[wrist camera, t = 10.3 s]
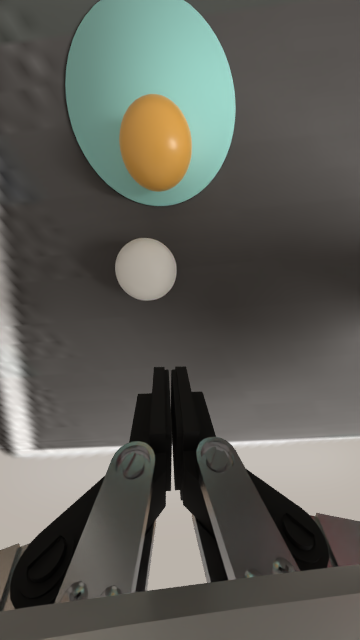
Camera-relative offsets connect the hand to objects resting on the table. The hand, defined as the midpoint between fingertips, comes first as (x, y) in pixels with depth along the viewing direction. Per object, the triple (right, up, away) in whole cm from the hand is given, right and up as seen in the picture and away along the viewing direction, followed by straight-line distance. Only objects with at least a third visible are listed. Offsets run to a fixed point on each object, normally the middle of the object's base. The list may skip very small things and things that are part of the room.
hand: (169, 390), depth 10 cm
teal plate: (-2, +21, +6) cm, 22 cm away
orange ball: (-1, +17, +5) cm, 18 cm away
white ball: (-3, +8, +7) cm, 11 cm away
